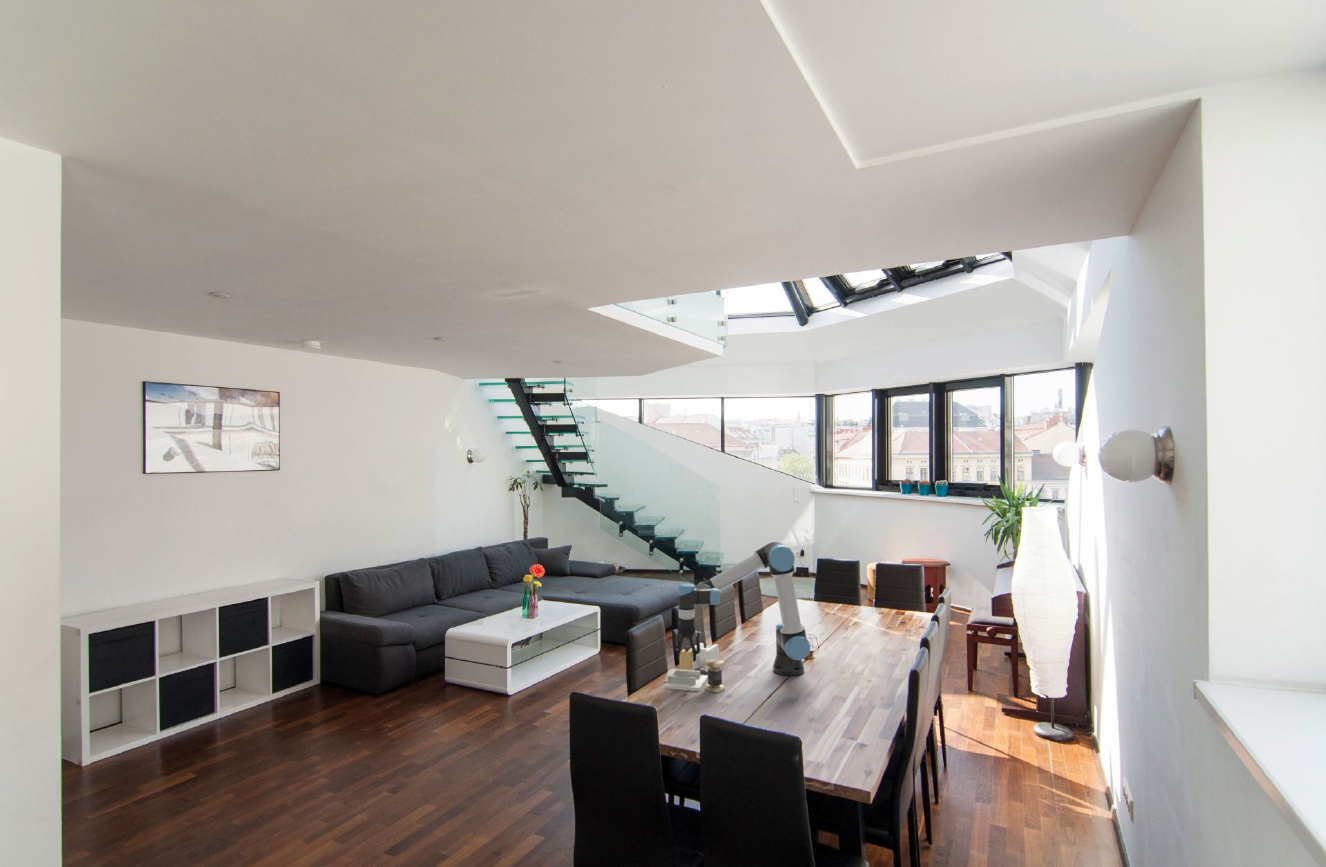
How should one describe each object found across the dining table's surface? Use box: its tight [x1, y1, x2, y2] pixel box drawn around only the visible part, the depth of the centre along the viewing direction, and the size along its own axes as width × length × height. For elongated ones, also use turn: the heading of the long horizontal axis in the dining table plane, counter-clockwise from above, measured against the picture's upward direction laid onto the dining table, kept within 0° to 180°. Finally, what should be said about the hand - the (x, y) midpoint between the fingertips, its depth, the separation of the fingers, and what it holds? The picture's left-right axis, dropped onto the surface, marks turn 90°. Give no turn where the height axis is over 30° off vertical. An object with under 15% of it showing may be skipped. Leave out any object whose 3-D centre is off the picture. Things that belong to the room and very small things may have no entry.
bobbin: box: [704, 659, 726, 693], centre depth 306 cm, size 9×9×12 cm
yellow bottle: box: [679, 645, 693, 670], centre depth 314 cm, size 5×5×10 cm
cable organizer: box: [689, 642, 720, 673], centre depth 334 cm, size 15×11×12 cm
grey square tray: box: [665, 668, 708, 692], centre depth 314 cm, size 16×18×4 cm
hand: (686, 667), depth 314 cm, fingers closed on yellow bottle, 5 cm apart
